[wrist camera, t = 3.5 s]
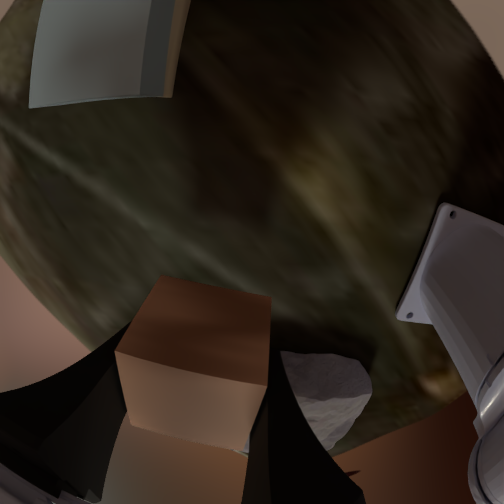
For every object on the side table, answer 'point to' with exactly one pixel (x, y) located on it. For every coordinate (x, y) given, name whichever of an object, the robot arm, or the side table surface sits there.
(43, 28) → the top block
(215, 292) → the terracotta cube
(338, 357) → the stone block
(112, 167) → the side table surface
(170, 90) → the brown block
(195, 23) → the side table surface
